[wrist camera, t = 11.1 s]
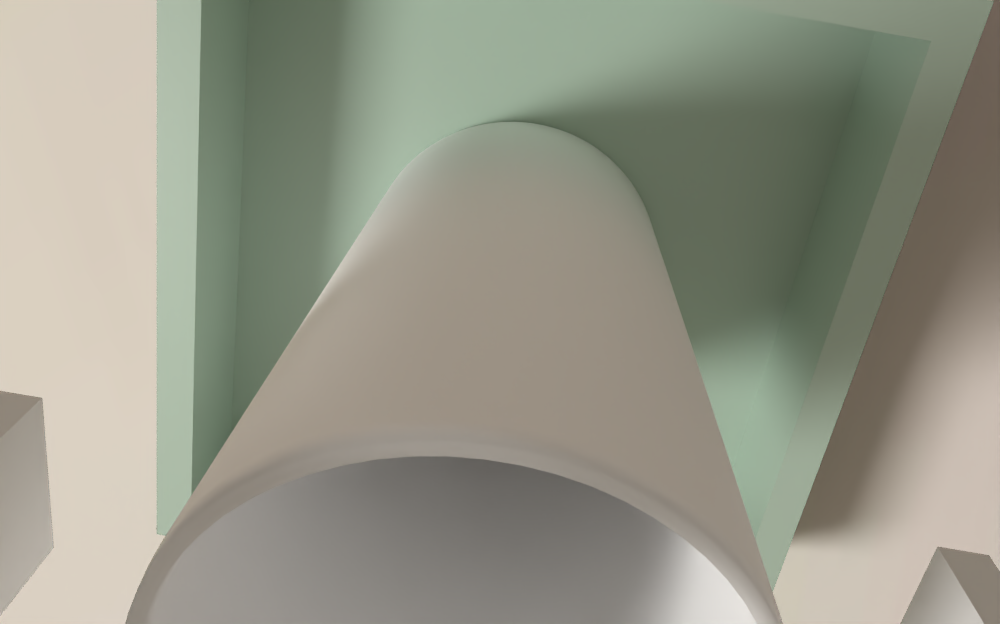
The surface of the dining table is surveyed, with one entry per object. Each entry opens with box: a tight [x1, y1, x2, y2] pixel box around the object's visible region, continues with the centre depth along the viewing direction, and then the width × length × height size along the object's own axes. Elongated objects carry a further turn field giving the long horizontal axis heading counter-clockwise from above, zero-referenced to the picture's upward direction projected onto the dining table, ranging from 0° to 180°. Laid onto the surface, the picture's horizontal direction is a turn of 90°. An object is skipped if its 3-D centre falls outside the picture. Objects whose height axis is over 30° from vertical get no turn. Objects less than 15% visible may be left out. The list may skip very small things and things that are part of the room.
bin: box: [157, 0, 994, 592], centre depth 24 cm, size 18×18×4 cm
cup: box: [126, 122, 783, 624], centre depth 18 cm, size 8×8×16 cm
